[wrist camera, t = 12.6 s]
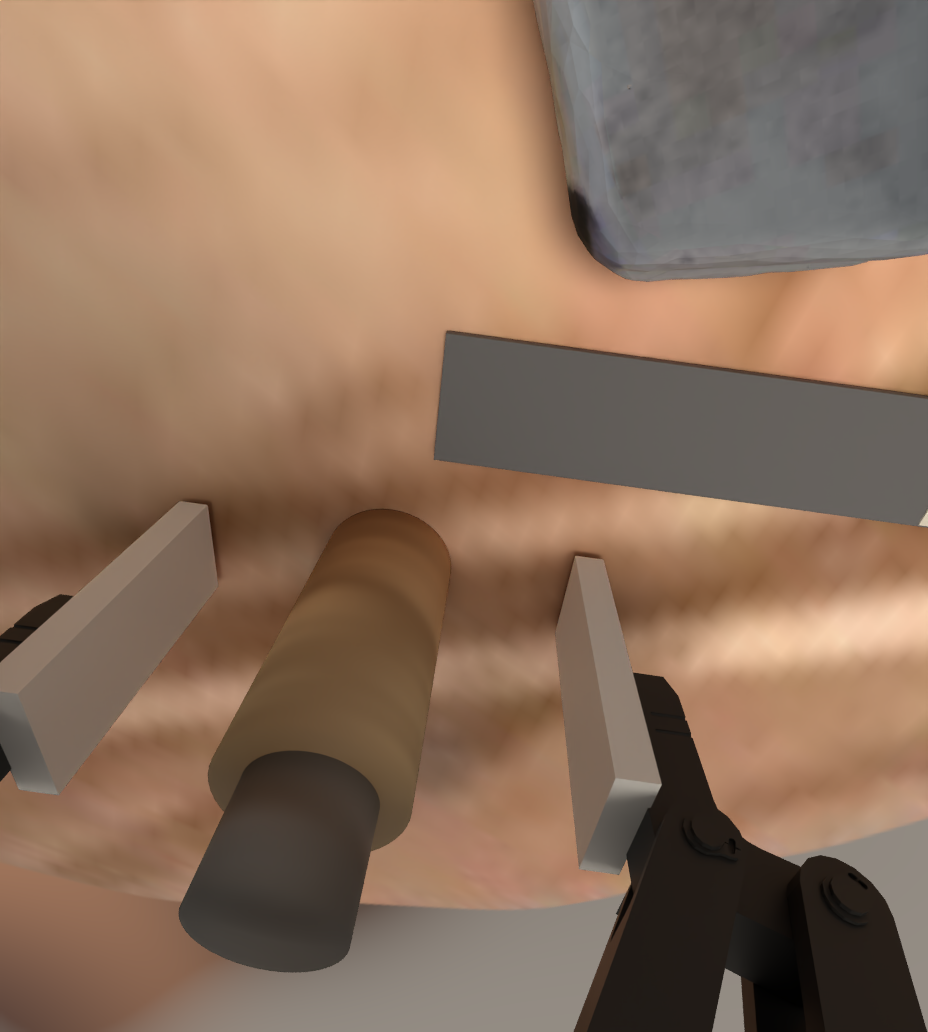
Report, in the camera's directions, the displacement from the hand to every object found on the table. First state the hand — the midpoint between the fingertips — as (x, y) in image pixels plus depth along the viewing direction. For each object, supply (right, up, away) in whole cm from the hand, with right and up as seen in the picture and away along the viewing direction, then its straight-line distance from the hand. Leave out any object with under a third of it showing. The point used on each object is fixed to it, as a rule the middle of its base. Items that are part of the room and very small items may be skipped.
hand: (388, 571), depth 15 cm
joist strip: (+11, +3, -2) cm, 12 cm away
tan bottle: (0, 0, 0) cm, 0 cm away
